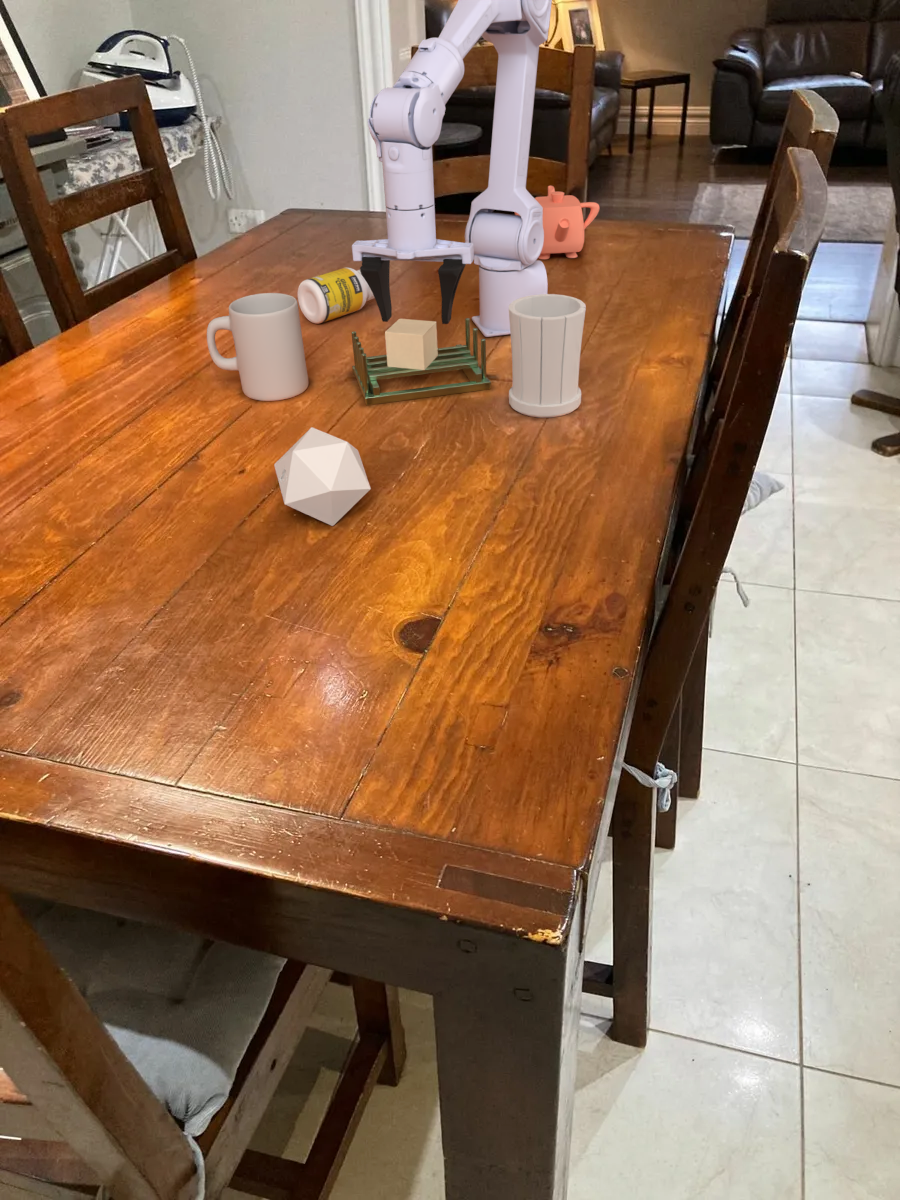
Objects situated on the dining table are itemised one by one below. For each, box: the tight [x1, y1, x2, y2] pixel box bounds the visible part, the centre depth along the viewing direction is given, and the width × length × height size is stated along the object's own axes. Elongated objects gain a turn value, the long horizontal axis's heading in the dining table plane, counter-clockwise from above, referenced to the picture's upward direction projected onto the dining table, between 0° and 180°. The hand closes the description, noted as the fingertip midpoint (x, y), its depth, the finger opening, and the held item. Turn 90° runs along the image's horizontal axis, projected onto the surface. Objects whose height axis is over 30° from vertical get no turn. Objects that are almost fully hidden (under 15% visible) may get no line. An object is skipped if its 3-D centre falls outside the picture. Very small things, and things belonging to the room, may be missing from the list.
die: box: [273, 426, 372, 527], centre depth 92 cm, size 8×9×10 cm
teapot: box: [514, 185, 600, 260], centre depth 163 cm, size 14×12×10 cm
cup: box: [508, 293, 587, 419], centre depth 111 cm, size 10×9×12 cm
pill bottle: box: [297, 267, 375, 325], centre depth 141 cm, size 6×6×12 cm
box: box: [384, 318, 438, 370], centre depth 118 cm, size 5×5×4 cm
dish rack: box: [351, 317, 492, 406], centre depth 119 cm, size 16×11×6 cm
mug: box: [206, 292, 310, 402], centre depth 118 cm, size 12×8×11 cm
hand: (416, 320), depth 116 cm, fingers open, 7 cm apart
